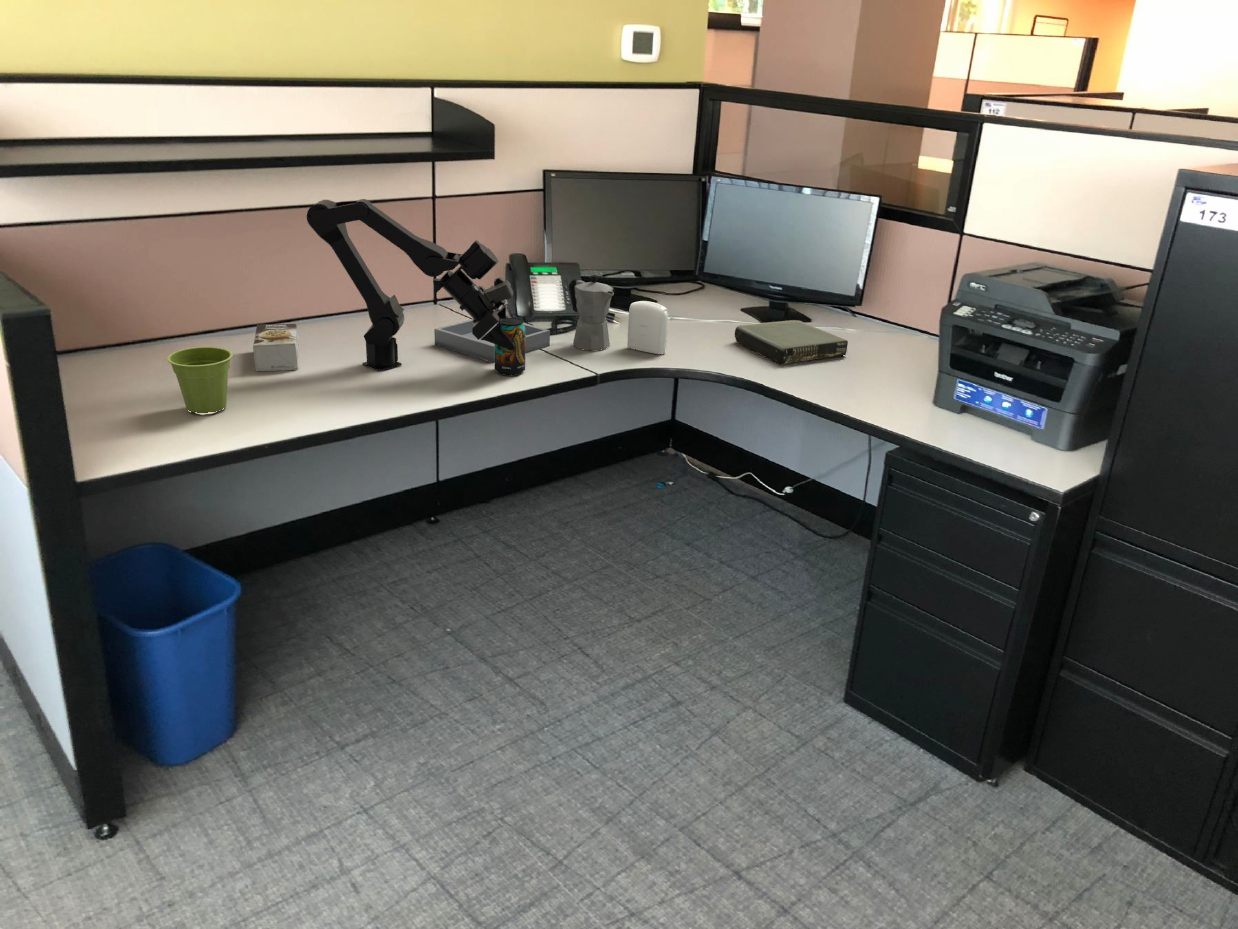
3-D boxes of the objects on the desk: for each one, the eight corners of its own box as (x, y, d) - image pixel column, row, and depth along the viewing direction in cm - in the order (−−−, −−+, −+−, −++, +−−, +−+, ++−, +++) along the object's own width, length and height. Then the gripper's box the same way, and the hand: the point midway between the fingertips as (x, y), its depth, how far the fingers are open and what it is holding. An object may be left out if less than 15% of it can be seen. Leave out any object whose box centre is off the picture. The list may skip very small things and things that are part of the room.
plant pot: (164, 407, 201) (156, 353, 196) (222, 395, 209) (216, 343, 204) (189, 425, 193) (182, 369, 189) (248, 412, 201) (243, 357, 197)
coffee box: (252, 344, 221) (255, 323, 235) (255, 372, 223) (258, 350, 237) (296, 342, 223) (296, 322, 237) (298, 370, 226) (298, 348, 240)
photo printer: (624, 348, 254) (626, 300, 249) (632, 344, 258) (635, 296, 253) (660, 356, 250) (663, 307, 245) (668, 352, 253) (672, 303, 248)
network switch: (788, 370, 246) (790, 350, 244) (724, 345, 263) (725, 326, 261) (853, 357, 259) (856, 338, 257) (788, 333, 276) (790, 316, 274)
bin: (493, 362, 238) (493, 346, 236) (434, 344, 249) (434, 328, 247) (549, 345, 253) (550, 330, 251) (491, 329, 264) (491, 314, 262)
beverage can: (510, 378, 228) (510, 326, 224) (488, 371, 232) (488, 320, 227) (531, 371, 233) (532, 321, 229) (509, 364, 237) (509, 315, 233)
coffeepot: (623, 348, 254) (627, 277, 247) (596, 355, 248) (599, 282, 240) (581, 334, 264) (583, 265, 256) (554, 340, 257) (556, 270, 250)
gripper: (487, 278, 215) (538, 331, 219) (496, 259, 232) (543, 309, 237) (450, 313, 218) (501, 364, 222) (462, 292, 235) (509, 340, 239)
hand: (515, 343), depth 230 cm, fingers open, 9 cm apart
